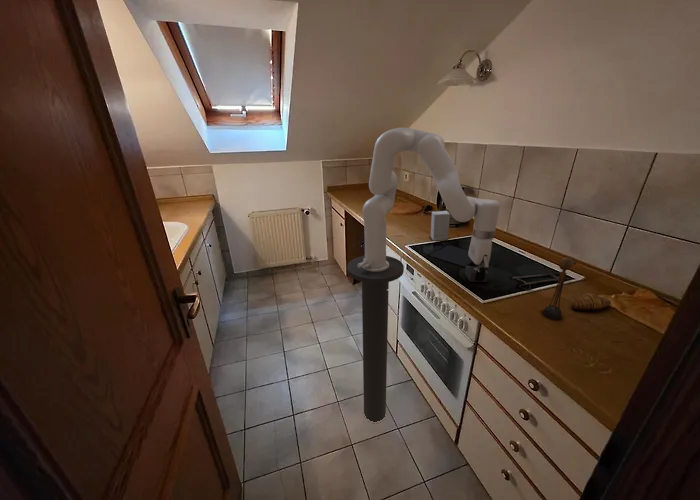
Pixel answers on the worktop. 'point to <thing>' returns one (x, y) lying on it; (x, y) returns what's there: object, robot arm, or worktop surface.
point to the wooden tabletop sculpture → (558, 290)
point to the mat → (453, 255)
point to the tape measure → (474, 273)
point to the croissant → (590, 302)
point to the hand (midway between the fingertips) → (476, 275)
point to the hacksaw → (538, 281)
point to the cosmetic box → (440, 225)
